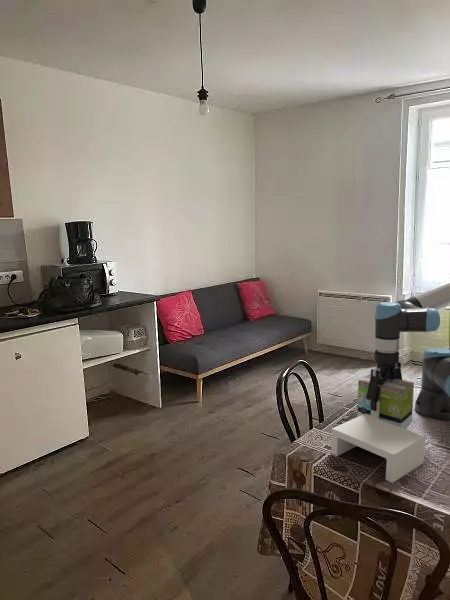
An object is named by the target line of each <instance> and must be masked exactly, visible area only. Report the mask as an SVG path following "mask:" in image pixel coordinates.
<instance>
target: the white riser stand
mask: <svg viewBox="0 0 450 600" xmlns="http://www.w3.org/2000/svg"><path fill="white" fill-rule="evenodd" d="M425 445H426V436H425V435H422V434H421V433H417V432H415V431H411V430H410V429H409V430H408V429H407V428H406V429H404V428H401V427H398V426H395V425H393V424H390V423H387V422H385V421H382V420H379V419H376V418H374V417H371V416H368V415H365V414H363V415H361V416H359V417H357V416H356V417H355V418H352V419H350V420H348V421H344V422H343V423H341V424H339V425H337V426H334V427H332V428H331V444H330V447H331V449H330V451H331V452H330V453H331V455H333V456H335V457H338V456H340V455H342V454H344V453H346V452H348V451H350V450H351V449H354V448H356V447H359V448H361V449H364V450H365V451H369V452H370V453H372V454H375V455H377V456H380V457H382V458H384V459H386V467H385V480H386V482H387V481H388V482H390V483H391V484H393V483H395V482H397V481H398V480H400V479H401V478H402V477H404V476H405V475H407V474H408V473H410V472H412V471H414V470H415V469H416V468H418V467H419V466H421V465H422V464H424V462H425V461H424V460H425V448H426V447H425Z"/></svg>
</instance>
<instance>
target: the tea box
mask: <svg viewBox="0 0 450 600" xmlns="http://www.w3.org/2000/svg"><path fill="white" fill-rule="evenodd" d="M370 377H371V372H370V373H369V374H367V375H366V376H364V377H363V378H361V379H359V380H358V382H357V383H358V384H357V387H358V388H357V411H356V412H357V416H356V417H359V416H361V415H363V414H365V415H368V416H371V400H368V399H366V396H367V392H368V387H369V382H370ZM379 378H380V377H379ZM382 379H383V378H382ZM414 385H415V382H413V381H409V380H404V379H402V380H400V379H390V378H388V379H387V380H386V382H384V384H383V385H378V387H381V388H380V396H379V399H378V401H380V410H379V420H382V421H385V422H387V423H390V424H393V425H395V426H398V427H401V428H404V429H406V430H407V428H408V427H409V426H410V425H411V424H412V423H413V411H414V410H413V407H414V406H413V405H414V387H415V386H414Z"/></svg>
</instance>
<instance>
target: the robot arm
mask: <svg viewBox="0 0 450 600" xmlns="http://www.w3.org/2000/svg"><path fill="white" fill-rule="evenodd" d="M447 306H450V280H448V281H445V282H442V283H441V284H439V285H437V286H434V287H431V288H430V289H428V290H425V291H424V292H421V293H418V294H416V295H414V296H412V297H409V298H407V299H398V300H395V301H394V302H392V301H381V302H379V303H377V304H376V308H375V316H374V318H375V320H374V321H375V322H374V324H375V325H374V329H375V331H374V349H375V350H374V356H373V360H374V362H375V363H376V364H377V365H376V368H375V369H374V368H371V369H370V373H371V377H370V382H369V387H368V392H367V396H366V399H368V400H371V417H374V418H376V419H379V410H380V401H378V399H379V396H380V388H381V387H378V385H383V384H384V382H386V380H387V379H388V378H390V379H400V380H403V376H402V369H401V368H402V362H400V352H399V351H400V337H401V335H400V334H401V333H428V332H436V331H437V330H439V328H440V326H441V315H440V313H439V311H438V310H439V309H440V310H441V309H442V308H445V307H447ZM421 368H422V371H421V385H420V386H421V388H420V391H419V393H418V396H417V398H416V400H415V402H414V410H415V411H416V412H417V413H418V414H419V415H422V416H424V417H426V418H430V419H435V420H442V421H443V420H444V421H448V420H449V421H450V349H449V348H429V349H428V348H427V349H426V350H424V351H423V356H422V367H421ZM379 377H380V378H379ZM382 378H383V379H382Z"/></svg>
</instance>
